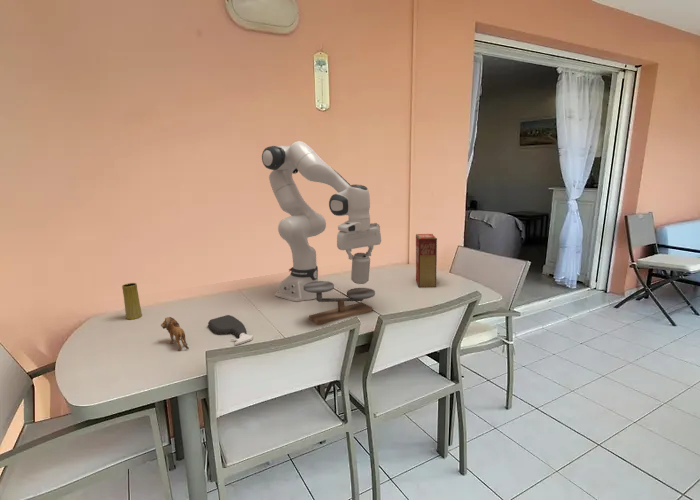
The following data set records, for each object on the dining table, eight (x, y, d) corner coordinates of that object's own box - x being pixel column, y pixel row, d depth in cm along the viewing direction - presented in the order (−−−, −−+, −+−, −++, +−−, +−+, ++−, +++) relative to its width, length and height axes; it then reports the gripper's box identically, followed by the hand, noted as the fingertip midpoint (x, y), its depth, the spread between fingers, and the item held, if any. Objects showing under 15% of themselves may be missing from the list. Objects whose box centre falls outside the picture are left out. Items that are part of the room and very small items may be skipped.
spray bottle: (232, 320, 159) (260, 340, 141) (205, 327, 153) (232, 349, 134) (231, 313, 159) (260, 332, 140) (205, 320, 152) (231, 341, 134)
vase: (124, 316, 165) (119, 284, 162) (140, 313, 169) (135, 281, 166) (127, 320, 160) (122, 288, 157) (143, 317, 164) (139, 284, 161)
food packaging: (414, 279, 207) (415, 233, 201) (432, 279, 206) (433, 233, 201) (418, 287, 194) (418, 238, 188) (437, 287, 193) (438, 238, 188)
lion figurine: (161, 341, 140) (158, 318, 138) (175, 336, 144) (172, 313, 142) (181, 353, 131) (178, 328, 129) (196, 347, 135) (193, 323, 133)
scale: (300, 319, 158) (298, 284, 154) (364, 302, 174) (363, 271, 171) (314, 328, 148) (312, 292, 145) (380, 310, 165) (380, 277, 162)
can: (367, 285, 160) (369, 258, 156) (349, 283, 161) (350, 256, 158) (369, 279, 167) (371, 252, 163) (352, 276, 168) (354, 250, 165)
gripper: (375, 221, 167) (375, 252, 170) (334, 226, 156) (335, 259, 159) (384, 223, 162) (384, 255, 165) (342, 228, 151) (343, 262, 154)
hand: (360, 257), depth 162 cm, fingers closed on can, 7 cm apart
